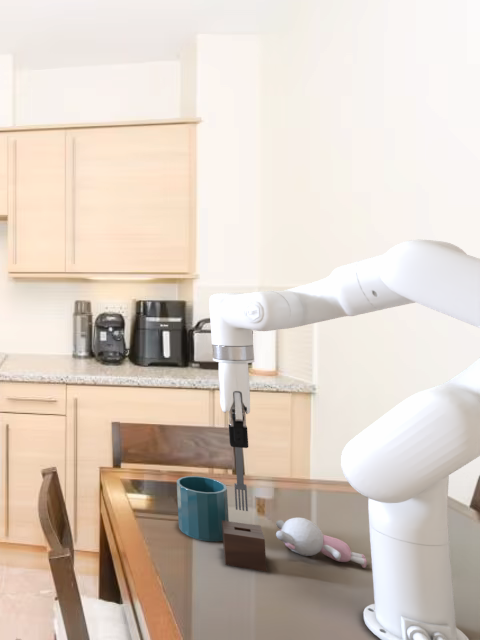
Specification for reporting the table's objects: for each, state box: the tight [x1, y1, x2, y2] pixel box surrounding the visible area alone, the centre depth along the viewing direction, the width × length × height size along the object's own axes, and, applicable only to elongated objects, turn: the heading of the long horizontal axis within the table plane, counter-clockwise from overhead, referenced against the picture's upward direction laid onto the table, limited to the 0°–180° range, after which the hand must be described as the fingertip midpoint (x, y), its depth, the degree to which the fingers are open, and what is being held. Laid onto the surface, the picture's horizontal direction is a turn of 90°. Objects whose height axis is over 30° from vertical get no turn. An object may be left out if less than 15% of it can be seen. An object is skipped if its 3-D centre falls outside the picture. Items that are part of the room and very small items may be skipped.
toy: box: [275, 517, 368, 569], centre depth 102 cm, size 8×7×15 cm
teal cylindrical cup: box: [176, 475, 230, 542], centre depth 114 cm, size 10×10×10 cm
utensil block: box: [222, 520, 268, 572], centre depth 101 cm, size 6×7×6 cm
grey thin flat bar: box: [234, 447, 249, 512], centre depth 102 cm, size 1×2×16 cm, turn 66°
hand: (239, 446), depth 102 cm, fingers closed
